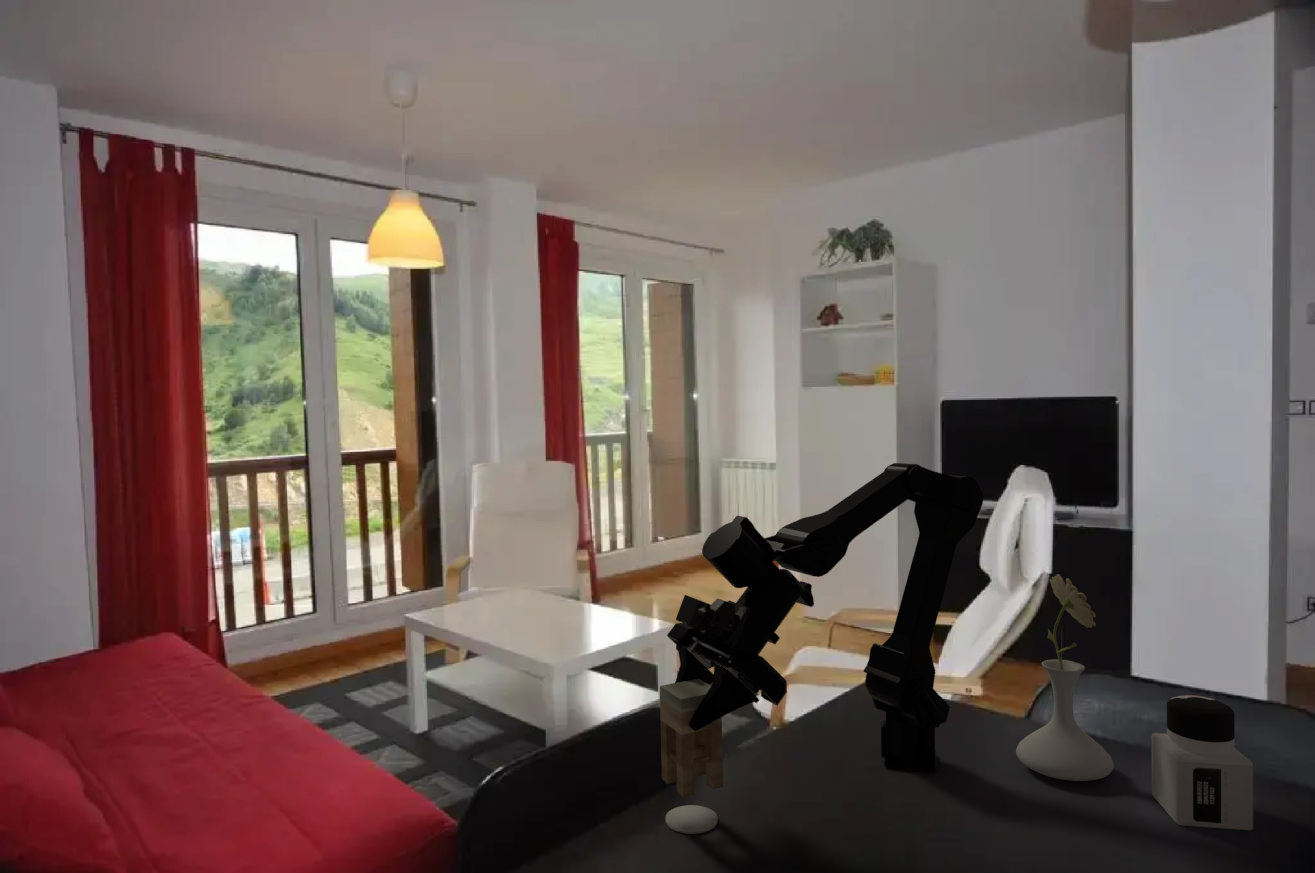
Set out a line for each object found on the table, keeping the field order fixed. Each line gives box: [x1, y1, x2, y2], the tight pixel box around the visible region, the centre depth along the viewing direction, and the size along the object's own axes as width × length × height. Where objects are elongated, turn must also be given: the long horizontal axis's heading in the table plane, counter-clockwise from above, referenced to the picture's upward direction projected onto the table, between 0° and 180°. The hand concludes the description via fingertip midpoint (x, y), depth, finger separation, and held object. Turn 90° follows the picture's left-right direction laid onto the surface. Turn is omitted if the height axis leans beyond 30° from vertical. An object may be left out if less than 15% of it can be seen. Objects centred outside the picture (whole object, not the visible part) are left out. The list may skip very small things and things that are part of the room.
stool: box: [659, 679, 724, 798], centre depth 96 cm, size 5×5×11 cm
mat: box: [665, 804, 719, 835], centre depth 96 cm, size 6×6×1 cm
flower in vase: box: [1015, 573, 1115, 782], centre depth 108 cm, size 13×11×25 cm
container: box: [1151, 694, 1254, 831], centre depth 96 cm, size 8×8×13 cm
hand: (680, 720), depth 95 cm, fingers closed on stool, 5 cm apart
